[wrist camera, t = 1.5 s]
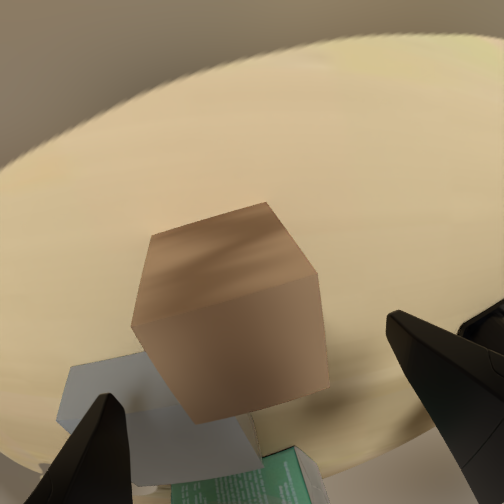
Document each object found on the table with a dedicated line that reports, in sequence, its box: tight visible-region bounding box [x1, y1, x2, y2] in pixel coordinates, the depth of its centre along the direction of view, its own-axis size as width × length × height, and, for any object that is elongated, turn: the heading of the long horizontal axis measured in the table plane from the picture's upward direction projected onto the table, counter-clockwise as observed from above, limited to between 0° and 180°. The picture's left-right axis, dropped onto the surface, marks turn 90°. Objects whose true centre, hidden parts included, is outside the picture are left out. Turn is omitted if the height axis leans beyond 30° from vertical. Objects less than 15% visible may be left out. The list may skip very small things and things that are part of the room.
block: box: [131, 202, 330, 425], centre depth 12 cm, size 5×5×6 cm
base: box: [56, 352, 265, 486], centre depth 16 cm, size 9×9×4 cm
